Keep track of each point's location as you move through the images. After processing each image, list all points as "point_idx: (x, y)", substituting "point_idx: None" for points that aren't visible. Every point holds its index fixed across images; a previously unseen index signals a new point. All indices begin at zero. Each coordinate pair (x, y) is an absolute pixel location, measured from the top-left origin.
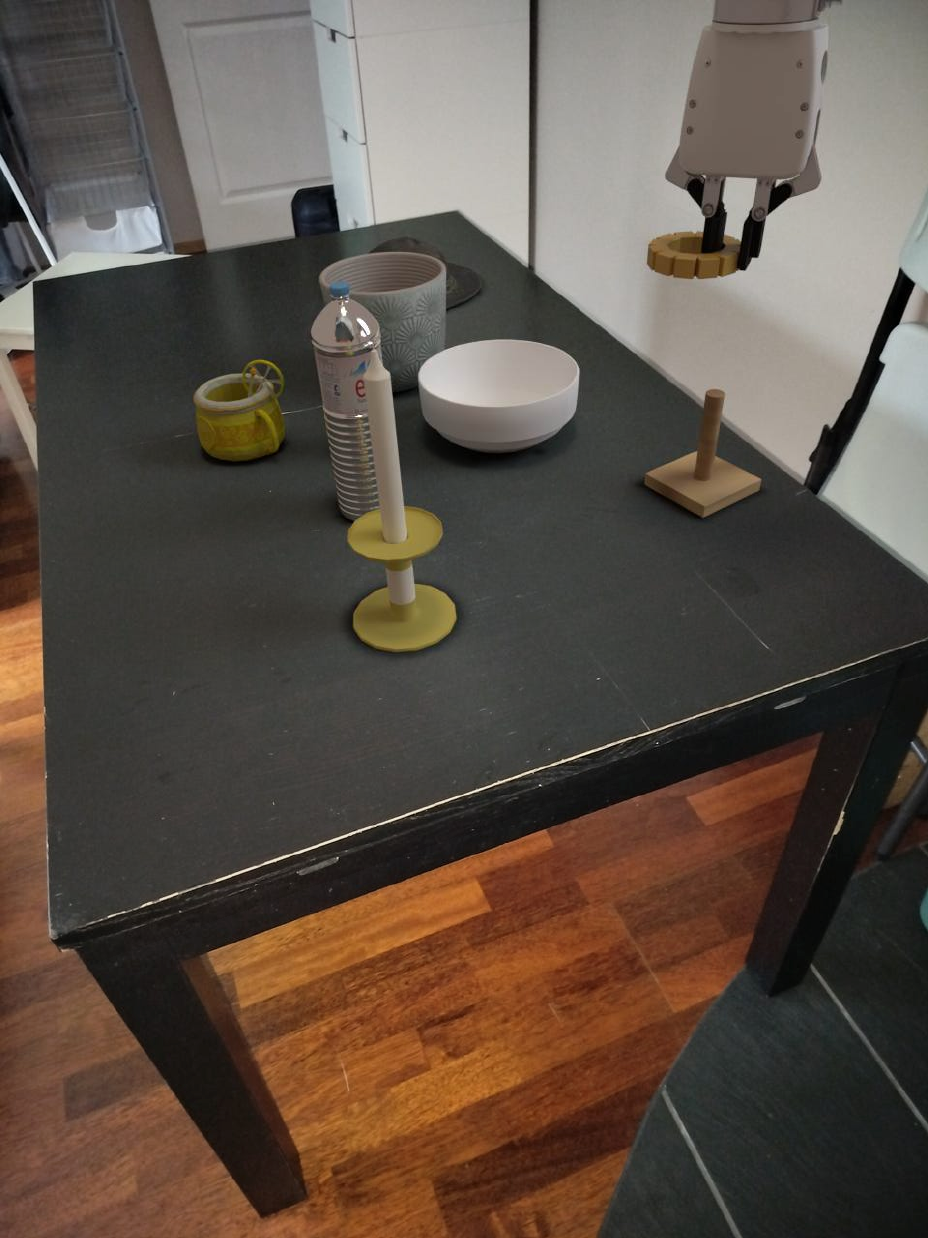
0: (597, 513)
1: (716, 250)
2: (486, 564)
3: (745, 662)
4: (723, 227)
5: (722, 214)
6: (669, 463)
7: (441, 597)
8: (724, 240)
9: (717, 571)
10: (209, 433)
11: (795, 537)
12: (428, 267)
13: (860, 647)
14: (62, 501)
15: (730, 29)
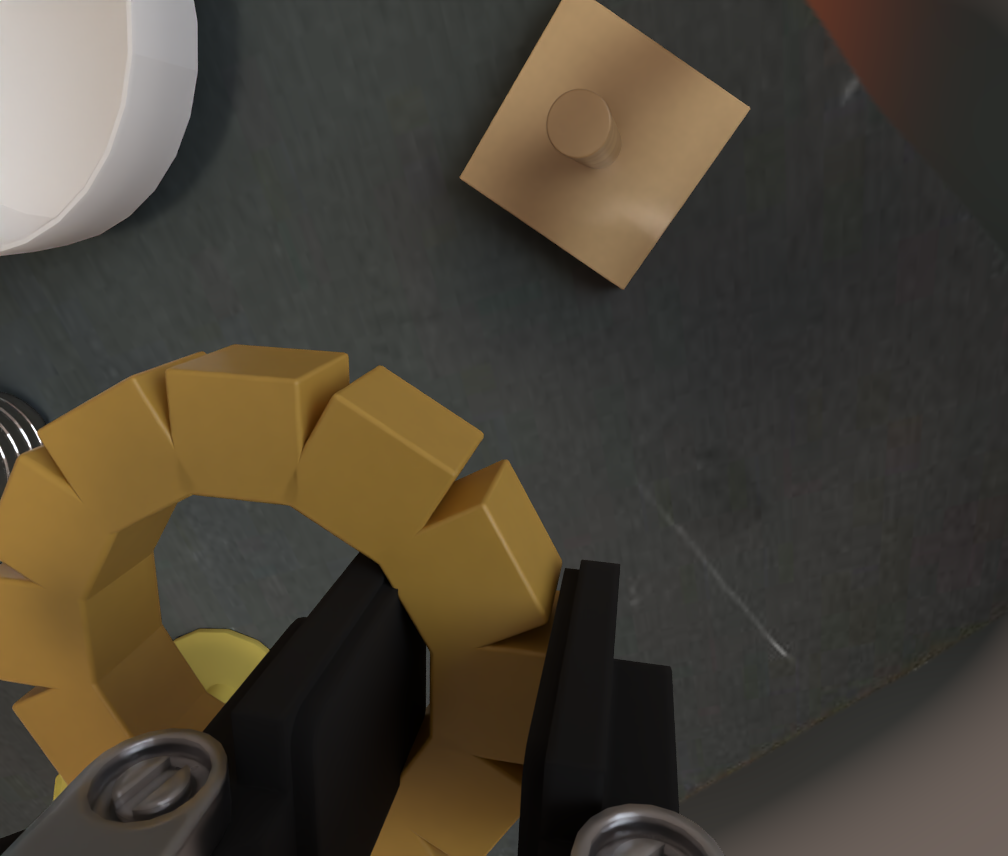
0: (403, 333)
1: (398, 778)
2: (277, 549)
3: (749, 692)
4: (358, 730)
5: (298, 826)
6: (504, 106)
7: (255, 655)
8: (400, 560)
9: (678, 469)
10: None
11: (838, 302)
12: None
13: (950, 621)
14: None
15: None
